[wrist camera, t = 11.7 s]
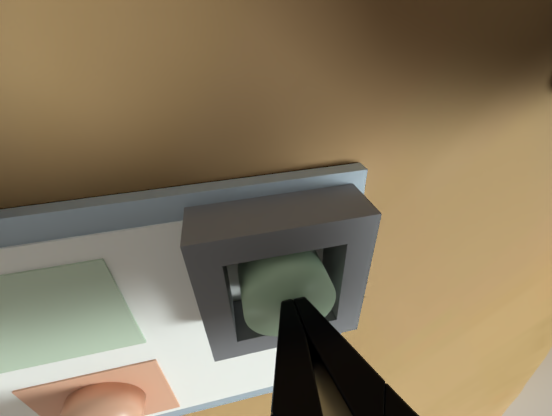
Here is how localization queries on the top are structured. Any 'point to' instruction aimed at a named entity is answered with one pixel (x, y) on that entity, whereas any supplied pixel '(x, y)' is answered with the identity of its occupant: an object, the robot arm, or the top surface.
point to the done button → (282, 288)
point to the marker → (105, 400)
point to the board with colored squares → (167, 286)
